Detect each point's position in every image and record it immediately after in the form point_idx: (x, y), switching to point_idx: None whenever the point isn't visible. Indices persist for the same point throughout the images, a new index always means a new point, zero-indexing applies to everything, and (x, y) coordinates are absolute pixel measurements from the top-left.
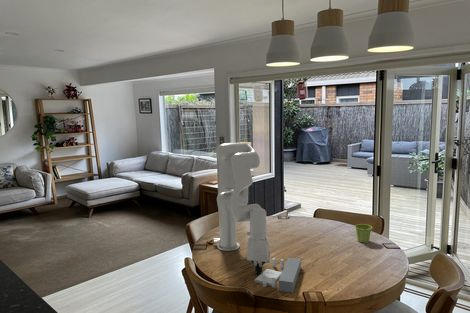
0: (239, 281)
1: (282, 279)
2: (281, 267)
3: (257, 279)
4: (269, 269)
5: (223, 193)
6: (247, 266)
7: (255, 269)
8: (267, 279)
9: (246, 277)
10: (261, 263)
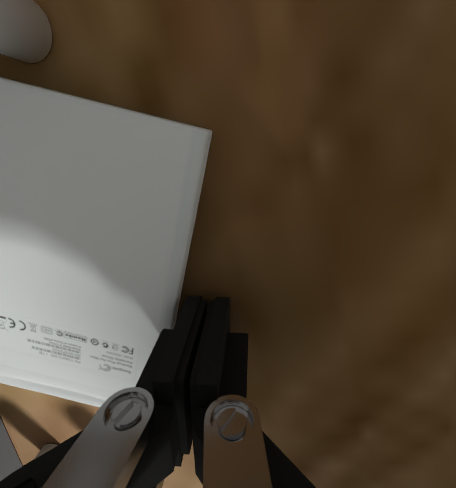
0: (446, 65)
1: None
2: None
3: (156, 134)
4: None
5: None
6: (369, 444)
7: (242, 355)
8: (28, 180)
9: (346, 222)
10: (74, 462)
